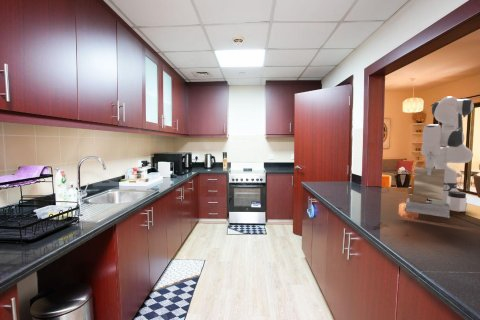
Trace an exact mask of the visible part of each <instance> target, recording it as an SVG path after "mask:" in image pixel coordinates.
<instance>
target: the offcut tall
mask: <svg viewBox="0 0 480 320" xmlns="http://www.w3.org/2000/svg"><path fill="white" fill-rule="evenodd" d="M426 197H427V196H421V195H413V193H411V194H410V193H409V199H410V202H418V203H426V201H427V198H426Z"/></svg>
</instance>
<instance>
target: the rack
mask: <svg viewBox="0 0 480 320" xmlns="http://www.w3.org/2000/svg"><path fill="white" fill-rule="evenodd" d="M405 202H406V203H405V212H409V213H415V214H423V215H428V216H429V215H430V216H436V217H442V218H448V219H450V217H451V216H450V211H451V210H450V207H449V204H447V203H445V206H441V205H433V204H431V203H432V201H431V200H430V201H429V200H426V203H418V202H410V198H407V199H406V201H405Z"/></svg>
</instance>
